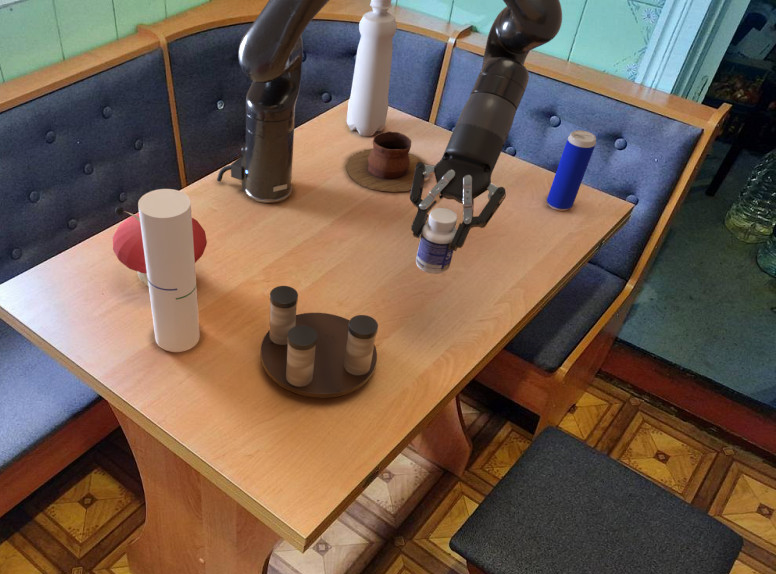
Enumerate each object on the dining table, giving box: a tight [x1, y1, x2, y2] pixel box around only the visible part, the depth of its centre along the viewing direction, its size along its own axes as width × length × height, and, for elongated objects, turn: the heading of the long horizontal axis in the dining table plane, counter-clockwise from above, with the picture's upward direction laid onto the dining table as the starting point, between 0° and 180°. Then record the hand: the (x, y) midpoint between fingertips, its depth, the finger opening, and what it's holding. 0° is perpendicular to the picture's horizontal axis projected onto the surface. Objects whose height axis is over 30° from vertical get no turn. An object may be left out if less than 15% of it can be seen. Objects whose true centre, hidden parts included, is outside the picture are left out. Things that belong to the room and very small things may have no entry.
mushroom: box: [112, 206, 208, 288], centre depth 122 cm, size 16×16×15 cm
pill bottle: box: [415, 207, 458, 275], centre depth 108 cm, size 5×5×9 cm
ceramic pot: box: [345, 130, 428, 193], centre depth 152 cm, size 18×18×7 cm
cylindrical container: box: [137, 188, 201, 353], centre depth 108 cm, size 7×7×25 cm
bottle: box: [346, 0, 398, 137], centre depth 157 cm, size 9×9×30 cm
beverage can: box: [546, 129, 597, 212], centre depth 142 cm, size 5×5×15 cm
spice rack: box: [260, 285, 379, 399], centre depth 110 cm, size 18×18×9 cm
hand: (434, 242), depth 107 cm, fingers closed on pill bottle, 5 cm apart
